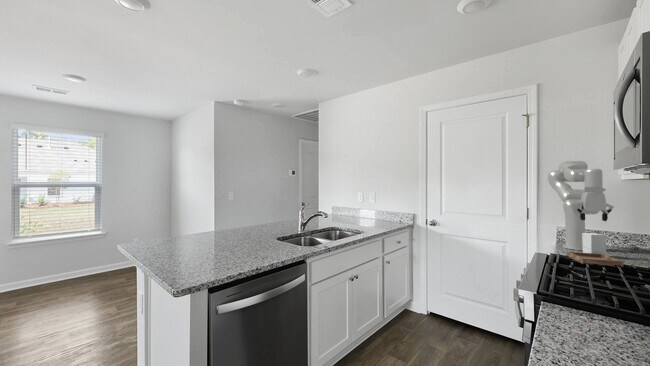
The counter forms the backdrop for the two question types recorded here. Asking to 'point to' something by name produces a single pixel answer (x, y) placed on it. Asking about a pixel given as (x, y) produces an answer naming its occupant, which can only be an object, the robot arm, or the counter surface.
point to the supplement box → (594, 243)
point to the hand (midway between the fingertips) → (593, 220)
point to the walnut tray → (594, 259)
